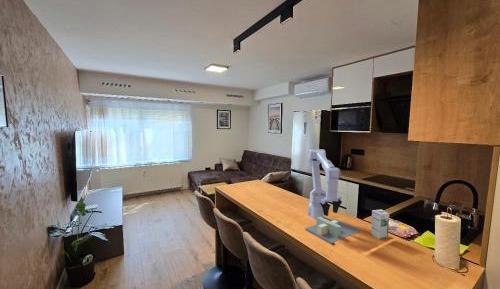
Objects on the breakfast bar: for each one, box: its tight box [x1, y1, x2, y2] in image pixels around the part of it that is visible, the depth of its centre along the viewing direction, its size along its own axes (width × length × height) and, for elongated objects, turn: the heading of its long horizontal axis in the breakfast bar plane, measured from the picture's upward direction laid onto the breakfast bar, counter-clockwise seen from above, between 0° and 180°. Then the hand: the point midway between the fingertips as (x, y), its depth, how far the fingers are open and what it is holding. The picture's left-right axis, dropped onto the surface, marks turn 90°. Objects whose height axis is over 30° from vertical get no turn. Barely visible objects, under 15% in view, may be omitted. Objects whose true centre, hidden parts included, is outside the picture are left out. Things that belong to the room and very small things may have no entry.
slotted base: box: [304, 218, 363, 245], centre depth 127 cm, size 18×26×6 cm
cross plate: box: [315, 217, 341, 238], centre depth 124 cm, size 14×3×6 cm, turn 32°
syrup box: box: [370, 209, 390, 240], centre depth 120 cm, size 6×6×14 cm
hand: (330, 214), depth 125 cm, fingers open, 7 cm apart
